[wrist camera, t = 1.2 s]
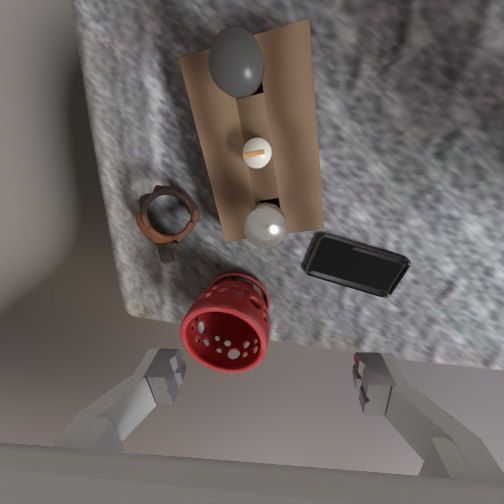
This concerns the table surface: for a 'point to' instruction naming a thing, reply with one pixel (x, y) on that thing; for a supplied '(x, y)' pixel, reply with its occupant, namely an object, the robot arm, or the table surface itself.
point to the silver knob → (265, 225)
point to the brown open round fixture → (162, 240)
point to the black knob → (236, 62)
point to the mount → (262, 133)
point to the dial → (257, 152)
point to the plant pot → (229, 323)
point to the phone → (356, 265)
